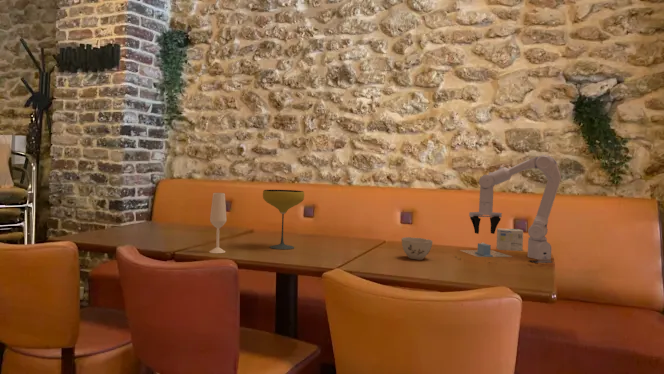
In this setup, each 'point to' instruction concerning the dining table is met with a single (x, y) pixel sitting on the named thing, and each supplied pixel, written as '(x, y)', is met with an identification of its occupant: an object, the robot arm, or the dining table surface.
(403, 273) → the dining table surface
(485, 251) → the servo
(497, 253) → the silver flat plate
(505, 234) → the light bulb box
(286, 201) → the cocktail glass
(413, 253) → the teacup
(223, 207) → the champagne flute
